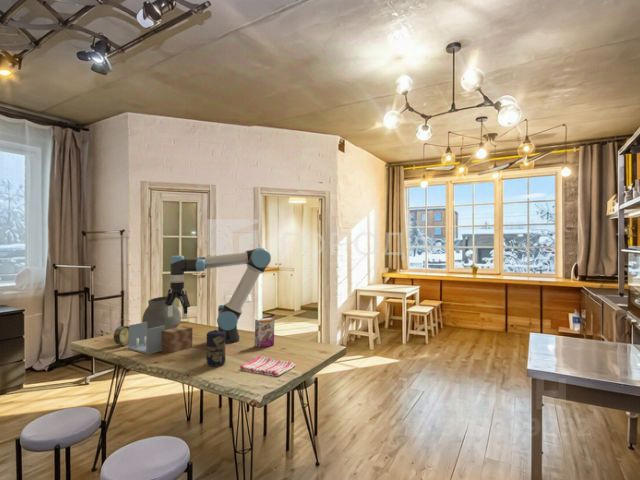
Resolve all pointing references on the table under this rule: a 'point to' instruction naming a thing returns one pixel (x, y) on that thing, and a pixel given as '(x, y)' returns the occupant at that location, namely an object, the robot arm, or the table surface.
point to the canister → (215, 348)
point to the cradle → (145, 338)
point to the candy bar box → (264, 332)
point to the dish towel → (267, 366)
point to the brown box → (176, 339)
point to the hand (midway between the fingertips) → (177, 317)
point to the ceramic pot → (161, 314)
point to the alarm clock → (121, 335)
